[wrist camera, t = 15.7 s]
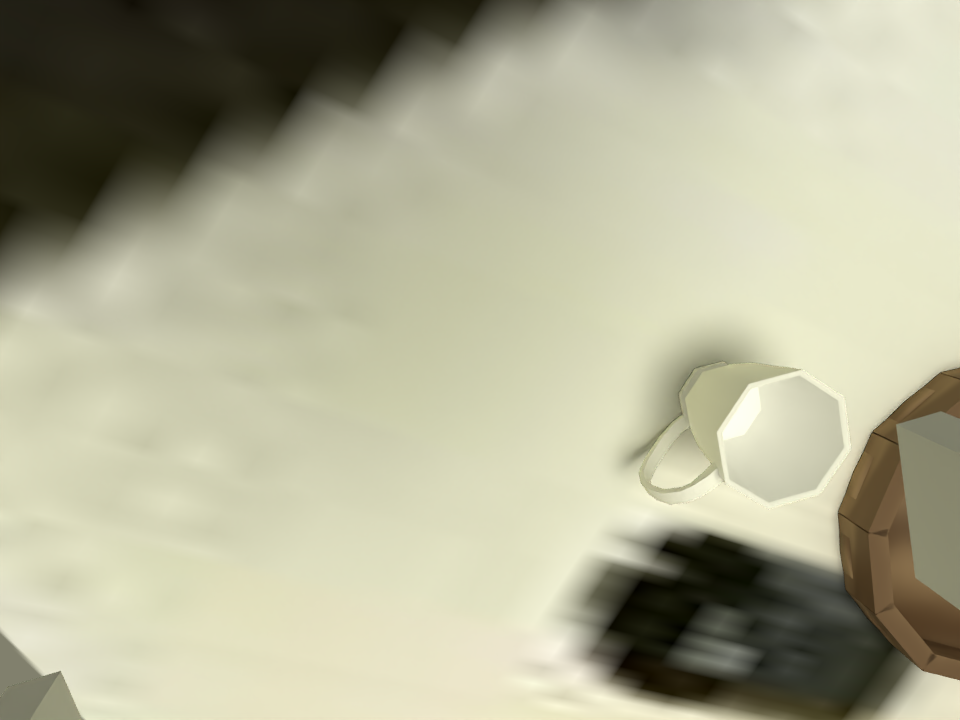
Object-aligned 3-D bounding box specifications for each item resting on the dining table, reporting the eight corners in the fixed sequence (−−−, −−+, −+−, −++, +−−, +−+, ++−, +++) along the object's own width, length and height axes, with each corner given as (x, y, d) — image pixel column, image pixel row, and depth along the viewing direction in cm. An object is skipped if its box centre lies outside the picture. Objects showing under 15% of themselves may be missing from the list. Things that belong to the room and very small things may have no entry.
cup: (793, 408, 46) (879, 452, 39) (654, 509, 47) (712, 574, 39) (733, 313, 45) (810, 339, 37) (589, 418, 45) (636, 467, 37)
